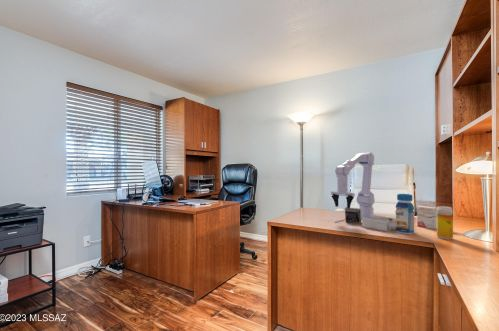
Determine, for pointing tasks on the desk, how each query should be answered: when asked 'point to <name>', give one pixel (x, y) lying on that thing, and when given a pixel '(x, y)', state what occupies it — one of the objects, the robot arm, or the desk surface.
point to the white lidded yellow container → (444, 222)
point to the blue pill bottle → (404, 214)
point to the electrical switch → (353, 215)
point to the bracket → (379, 223)
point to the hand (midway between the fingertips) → (342, 207)
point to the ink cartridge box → (426, 214)
